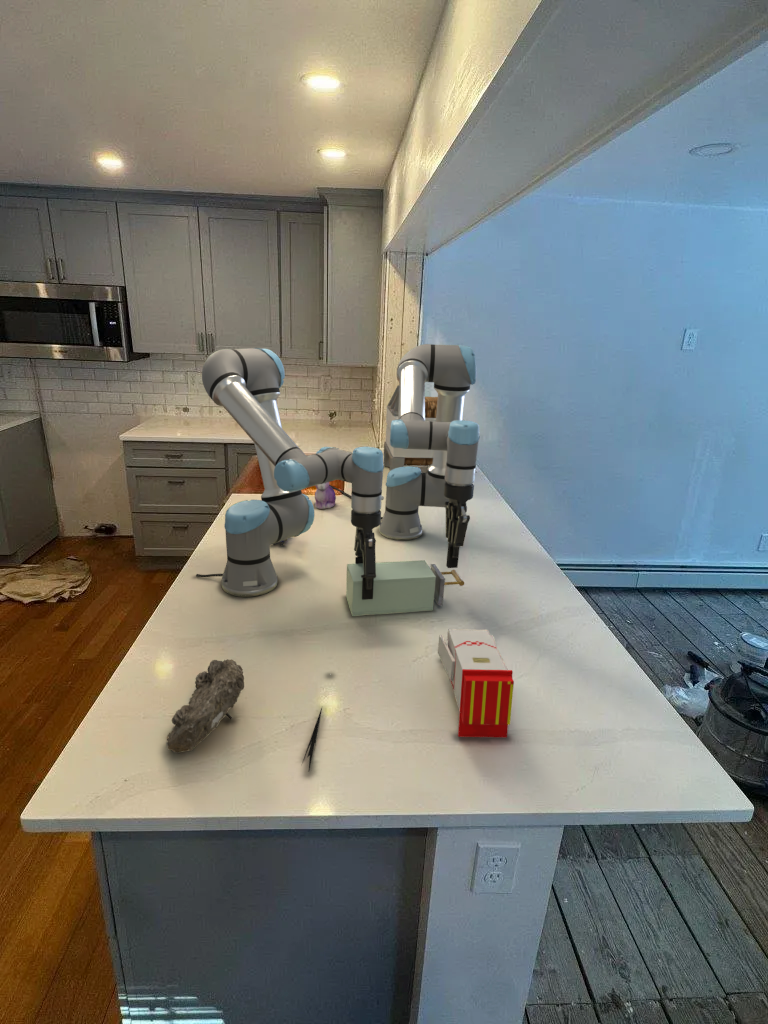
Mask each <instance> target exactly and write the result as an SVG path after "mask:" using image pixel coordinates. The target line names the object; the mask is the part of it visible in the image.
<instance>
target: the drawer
mask: <svg viewBox="0 0 768 1024" xmlns="http://www.w3.org/2000/svg"><path fill="white" fill-rule="evenodd" d="M430 569H431V570H432V572H433V573H434V575H435V576H436V579H435V591H434V602H435V603H436V604H437V606H440V607H441V606H443V605H444V595H445V586H454V585H456V586H457V585H458V586H460V587H463V586H465V581H464V580H463V578H462V577H461V576H460V574H459V573H458V571H457V570H456V569H452V570H451V571H440V569H439V567H438V566H437V564H435V563H430ZM444 575H451V576H452V577H453V578H454V579H455V581H446V578H445V577H444Z"/></svg>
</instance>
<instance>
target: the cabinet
mask: <svg viewBox="0 0 768 1024" xmlns="http://www.w3.org/2000/svg"><path fill="white" fill-rule="evenodd" d="M361 575H364V569H363V563H360V564H355V563H347V564H346V585H345V586H346V589H345V596H346V597H345V598H346V601H347V605H348V608H349V610H350V614H351V617H360V616H361V617H362V616H374V615H375V616H376V615H388V614H402V613H403V614H404V613H416V612H417V613H418V612H433V611H434V603H435V599H434V591H435V579H436V576H435V575H434V573H433V572H432V570H431V566H430V565H429V564H428V563H427V561H426V560H425V559H422V560H403V561H402V560H400V561H386V562H385V561H384V562H383V561H382V562H376V578H374V584H373V599H366V600H362V581H363V578H361Z"/></svg>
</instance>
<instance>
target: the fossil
mask: <svg viewBox="0 0 768 1024" xmlns="http://www.w3.org/2000/svg"><path fill="white" fill-rule="evenodd" d="M243 670H244V669H243V667H242V665H240V664H237V662H236V661H235V660H234V659H232V658H231V659H227V658H226V659H224V660H223V661H222V660H217V659H212V660H211V661H210V663H209V665H208V666H207V671H201V672H199V673H198V674H197V675H196V676H195V680H194V684H195V685H194V687H195V689H194V690H193V693H192V694H191V697H190V698H189V700H188V704H184V705H182V706H181V707H180V709H177V710H176V711H175V713H174V715H173V716H172V718H171V723H172V724H173V727H172V730H171V731H170V732H168V734H167V738H166V741H167V742H166V745H167V749H168V750H169V751H173V752H174V753H176V754H178V753H182V752H188V751H189V752H192V751H193V750H195V748H196V747H197V746H199V744H200V743H201V742H203V741H204V740H205V739H206V738H207V737H208V736H209V735H210V734H211V733H212V732H214V730H215V729H217V727H218V726H219V724H220V722H221V721H222V720H223V719H224V718H225V716H226V717H227V719H229V720H233V717H232V715H230V714H229V710H230V709H231V708H234V706H235V704H236V703H237V702H238V699H239V697H240V695H241V693H242V691H243V690H245V689H244V688H245V675H244V671H243Z"/></svg>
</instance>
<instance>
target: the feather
mask: <svg viewBox="0 0 768 1024" xmlns="http://www.w3.org/2000/svg"><path fill="white" fill-rule="evenodd" d="M329 675H330V676H331V675H332V674H331V673H330V674H329ZM322 710H323V707H321V708H320V710H319V713H318V716H317V719H316V723H315V725H314V728H313V731H312V733H311V737H310V739H309V742H308V745H307V748H306V751H305V754H304V757H303V760H302V763H301V767H302V765H303V763H304V761H305V758H308V759H309V760H308V762H307V763H308V764H307V766H308V771H310V770H311V766H312V765H311V764H312V760H313V757H315V756H314V755H315V751H316V749H315V746H317V739H318V733H319V729H320V722H321V717H322V712H323V711H322ZM313 754H314V755H313ZM306 755H307V757H306Z"/></svg>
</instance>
